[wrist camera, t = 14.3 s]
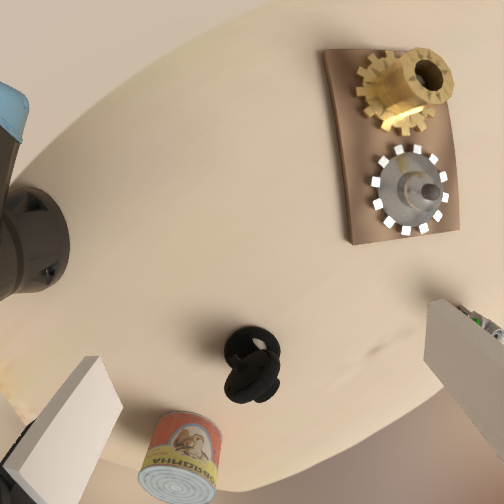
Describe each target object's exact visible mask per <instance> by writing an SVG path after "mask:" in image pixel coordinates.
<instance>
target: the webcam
mask: <svg viewBox="0 0 504 504" xmlns="http://www.w3.org/2000/svg"><path fill="white" fill-rule="evenodd" d="M252 338H255V339H260V340H262V341H263V342H265V343H266V344H267V345H268V347H269V350H266V349H263V350H260V349H259V348H258V347H257V346H256V345H255V344H254V343H253V340H252ZM280 352H281V351H280V346H279V343H278V341H277V339H276V338H275V337H274V336H273V335H272V334H271V333H269V332H268V331H266V330H264V329H260V328H256V327H249V328H244V329H241V330H239V331H237V332H235V333H234V334H232V335H231V336H230V337H229V339H228V340H227V342H226V344H225V348H224V355H225V359H226V362H227V363H228V365H229V366H230V367H231V368H232V369H233V370H232V371H231V373H230V374H229V376H228V378H227V380H226V382H225V385H224V391H225V394H226V396H227V397H228V398H229V399H230V400H231V401H233V402H235V403H239V404H244V403H247V402H250V401H252V400H254V401H255V402H257V403H262V402H265V401H267V400H268V399H270V398H271V397H272V396H273V395H274V394H275V393H276V391H277V390H278V388H279V386H280V381H279V379H278V378H277V376H278V373H279V370H280V360H279V357H280ZM235 353H236V354H237V356H238V357H239V358H240V359H241V360H240V359H238V358H237V357H236V356H235Z"/></svg>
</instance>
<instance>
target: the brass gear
mask: <svg viewBox="0 0 504 504" xmlns="http://www.w3.org/2000/svg"><path fill="white" fill-rule="evenodd" d="M382 56H383V57H382V58H380V59H378V58H377V57H376V56H375V55H374V53H373V54H371V55H370V56H368V57H367V58H366V59H365V60H364V61H365V62H366V63H367V64H368V67H367V68H366V69H364V68H362V67H360V66H359V67H358V68H357V69H356V72H355V75H354V77H356V78H358V79H360V80H361V82H360V87H355V88H354V89H353V92H354V98H362V99H363V103H364V105H365V106H366V107H367V108H365V109H364V110H362V111H361V113H362V114H363V115H364V117H365V118H366V119H368V118H370V117H371V116H373V117H374V118H375V119H376V120H377V121H379V122H380V124H379V127H378V130H380V131H382V132H384V133H388V132H389V131H390V128H392V129H397V131H398V137H402V136H410V130H409V128H413V127H414V129H415V130H416V132H422V131H423V130H424V129H425V128H427V126H426V125H425V123H424V122H423V120H424V119H425V118H426V117H427V118H429V119H430V118H434V115H435V111H436V110H435V109H433V108H432V107H434V106H437V105H440V104H442V103H444V102H445V101H446V100H448V99H449V98H450V97H451V95H452V91H453V87H454V82H453V78H452V74H451V70H450V69H449V67H448V66H447V64H446V63H445V62H444V60H443V59H442V58H441V57H440V56H439V55H437V54H436V53H434V52H433V51H431V50H430V49H424V48H414V49H413V50H411V51H409V52H408V53H406V54H405V55H403V56H402V57H401V58H395V57H394V53H393V51H384V52H383V53H382ZM415 74H418V75H420V76H421V77H422V78H423V79H424V82H425V84H424V87H423V86H421V84H420V83H419V81H418V80H417V78H416V75H415Z"/></svg>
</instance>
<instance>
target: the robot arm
mask: <svg viewBox="0 0 504 504" xmlns="http://www.w3.org/2000/svg"><path fill="white" fill-rule="evenodd" d="M28 113H29V103H28V100H27V98H26V97H25V95H24V94H22V93H21V92H20V91H17V90H16V89H14V88H12V87H10V86H8V85H6V84H4V83H2V82H0V301H1V300H3V299H5V298H6V297H8V296H10V295H11V294H13V293H34V292H39V291H42V290H45V289H47V288H48V287H50V286H51V285H53V284H55V283H56V282H57V281H58V280H59V279H60V278H61V276H62V275H63V273H64V271H65V269H66V266H67V263H68V259H69V251H70V242H69V233H68V228H67V225H66V221H65V219H64V216H63V214H62V212H61V210H60V208H59V207H58V205H57V204H56V202H55V201H54V200H53V199H52V198H51V197H50V196H49V195H47V194H46V193H45V192H43V191H41V190H38V189H34V188H26V189H19V190H15V191H13V192H11V193H9V194H7V193H8V188H9V184H10V179H11V176H12V172H13V168H14V164H15V160H16V157H17V153H18V150H19V146H20V144H21V143H22V140H23V139H22V134H23V130H24V126H25V123H26V120H27V116H28ZM424 362H425V363H426V364H427V365H428V366H429V368H430V369H431V370H432V371H433V373H434V374H435V375H436V376H437V377H438V379H439V380H440V381H441V382H442V384H443V385H444V386H445V387H446V389H447V390H448V391H449V392H450V394H451V395H452V396H453V397H454V399H455V400H456V401H457V403H458V404H459V405H460V406H461V408H462V409H463V410H464V411H465V413H466V414H467V415H468V417H469V418H470V419H471V421H472V422H473V423H474V424H475V426H476V427H477V429H478V430H479V431H480V433H481V434H482V435H483V437H484V438H485V439H486V441H487V442H488V443H489V445H490V446H491V447H492V449H493V450H494V452H495V453H496V454H497V456H498V457H499V459H500V460H501V461H502V463H503V464H504V345H503V344H502V343H501V342H500V341H498V340H497V339H496V338H495V337H493V336H492V335H491V334H490V333H488V332H487V331H486V330H485V329H483V328H482V327H481V326H479V325H478V324H477V323H476V322H474V321H473V320H472V319H470V318H469V317H468V316H466V315H465V314H464V313H462V312H461V311H460V310H458V309H457V308H456V307H454V306H453V305H452V304H450V303H449V302H448V301H446V300H445V299H444V298H442V299H438V300H435V301H431V302H428V303H427V324H426V339H425V350H424ZM122 409H123V406H122V404H121V402H120V400H119V398H118V395H117V393H116V391H115V389H114V387H113V385H112V383H111V381H110V378H109V376H108V374H107V372H106V369H105V367H104V365H103V362H102V360H101V358H100V356H89V357H85V358H84V359H83V360H82V361H81V362H80V364H79V365H78V366H77V367H76V369H75V370H74V371H73V372H72V374H71V375H70V376H69V377H68V379H67V380H66V381H65V382H64V384H63V385H62V386H61V387H60V389H59V390H58V391H57V393H56V394H55V395H54V396H53V398H52V399H51V400H50V402H49V403H48V404H47V406H46V407H45V408H44V409H43V411H42V412H41V413H40V415H39V416H38V417H37V418H36V419H35V420H34V421H33V422H31V423H30V424H29V425H27V427H26V428H25V429H24V431H23V432H22V433H21V436H19V438H18V439H17V440H16V444H15V443H14V444H13V446H12V447H11V448H10V450H9V451H8V453H7V454H6V456H5V457H4V458H3V460H2V461H1V463H0V504H78V503H79V500H80V498H81V496H82V494H83V491H84V489H85V487H86V485H87V482H88V480H89V478H90V476H91V473H92V471H93V469H94V467H95V465H96V463H97V461H98V459H99V456H100V454H101V452H102V450H103V448H104V446H105V444H106V442H107V440H108V438H109V435H110V433H111V431H112V429H113V427H114V425H115V423H116V421H117V419H118V417H119V415H120V413H121V411H122Z"/></svg>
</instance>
